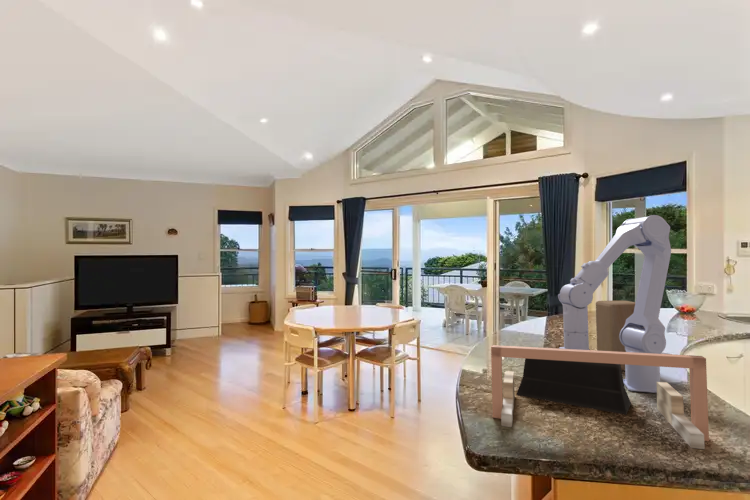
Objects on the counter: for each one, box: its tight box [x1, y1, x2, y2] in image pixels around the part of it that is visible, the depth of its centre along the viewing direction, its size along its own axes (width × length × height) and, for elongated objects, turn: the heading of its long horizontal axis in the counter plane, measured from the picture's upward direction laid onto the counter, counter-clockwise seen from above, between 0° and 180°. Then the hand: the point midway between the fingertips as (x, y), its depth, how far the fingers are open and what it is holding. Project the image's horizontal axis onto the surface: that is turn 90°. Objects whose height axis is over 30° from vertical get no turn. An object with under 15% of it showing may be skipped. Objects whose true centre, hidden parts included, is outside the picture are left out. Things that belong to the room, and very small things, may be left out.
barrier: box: [515, 358, 632, 416], centre depth 100 cm, size 24×9×10 cm, turn 53°
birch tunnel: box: [500, 370, 705, 450], centre depth 88 cm, size 20×34×6 cm, turn 70°
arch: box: [490, 344, 710, 442], centre depth 83 cm, size 2×38×15 cm, turn 70°
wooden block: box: [595, 300, 645, 371], centre depth 128 cm, size 10×10×20 cm
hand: (577, 384), depth 106 cm, fingers open, 7 cm apart
